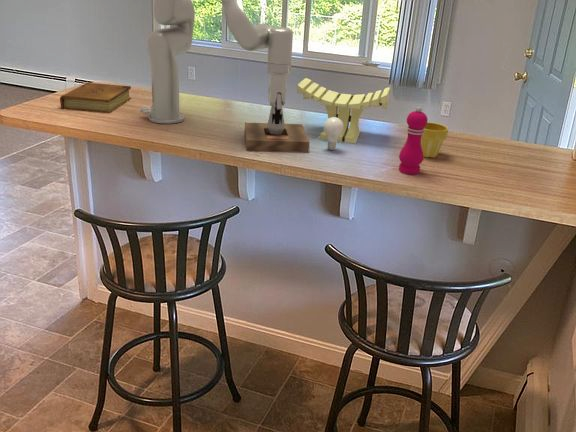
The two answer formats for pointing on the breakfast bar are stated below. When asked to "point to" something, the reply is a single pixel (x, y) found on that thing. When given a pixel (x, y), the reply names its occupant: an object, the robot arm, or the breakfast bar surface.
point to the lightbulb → (333, 131)
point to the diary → (95, 98)
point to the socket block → (276, 138)
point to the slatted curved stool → (343, 106)
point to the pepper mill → (413, 143)
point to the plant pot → (433, 138)
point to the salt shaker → (275, 128)
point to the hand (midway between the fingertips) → (276, 123)
